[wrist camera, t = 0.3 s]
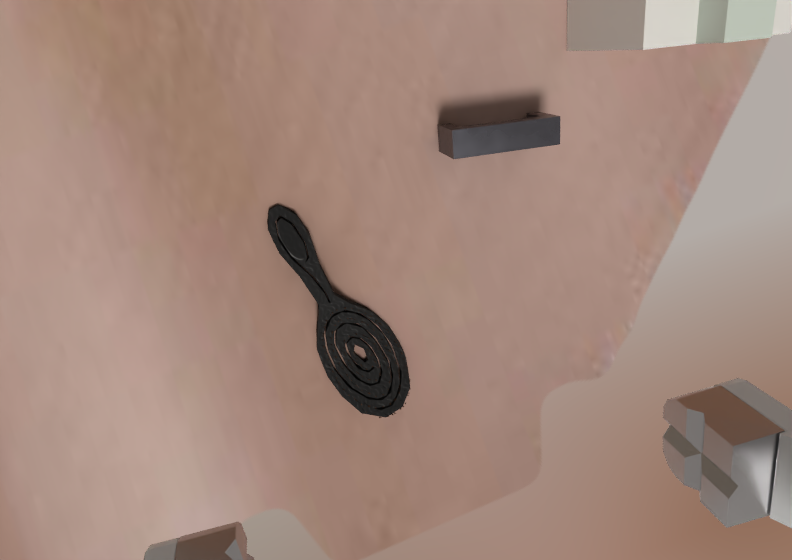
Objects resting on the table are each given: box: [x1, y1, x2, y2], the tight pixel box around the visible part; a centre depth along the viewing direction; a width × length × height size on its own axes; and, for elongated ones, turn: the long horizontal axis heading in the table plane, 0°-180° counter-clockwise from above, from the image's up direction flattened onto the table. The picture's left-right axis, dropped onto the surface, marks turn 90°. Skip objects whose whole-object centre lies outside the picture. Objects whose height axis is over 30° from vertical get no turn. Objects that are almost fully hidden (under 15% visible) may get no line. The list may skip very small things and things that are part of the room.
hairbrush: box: [267, 205, 410, 418], centre depth 58 cm, size 8×4×25 cm
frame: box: [438, 112, 560, 159], centre depth 54 cm, size 10×2×4 cm, turn 96°
